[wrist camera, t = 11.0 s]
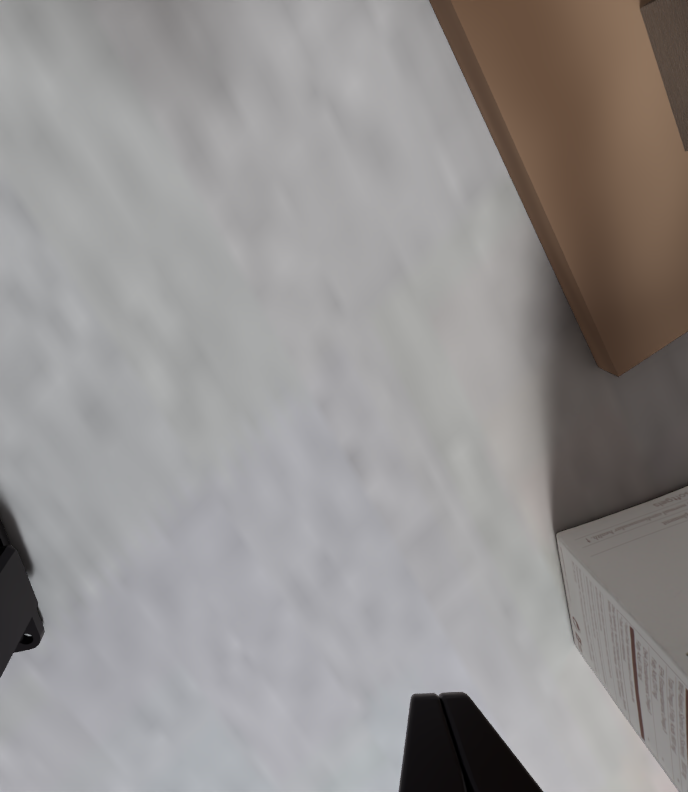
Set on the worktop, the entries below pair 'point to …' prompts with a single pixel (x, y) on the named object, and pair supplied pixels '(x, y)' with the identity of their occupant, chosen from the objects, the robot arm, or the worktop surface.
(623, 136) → the valve board
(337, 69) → the worktop surface
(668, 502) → the supplement box
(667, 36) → the valve
